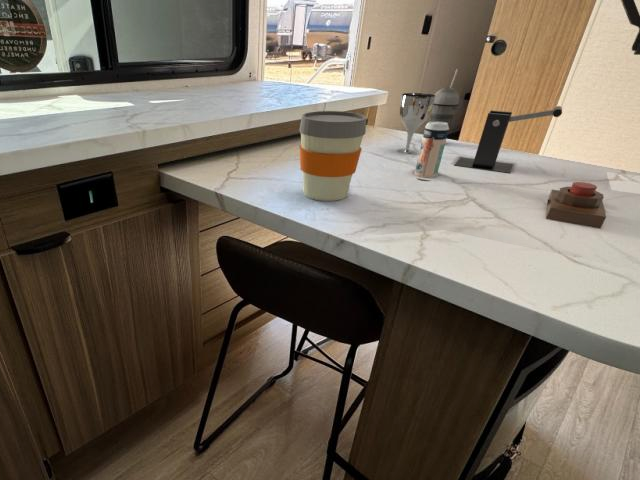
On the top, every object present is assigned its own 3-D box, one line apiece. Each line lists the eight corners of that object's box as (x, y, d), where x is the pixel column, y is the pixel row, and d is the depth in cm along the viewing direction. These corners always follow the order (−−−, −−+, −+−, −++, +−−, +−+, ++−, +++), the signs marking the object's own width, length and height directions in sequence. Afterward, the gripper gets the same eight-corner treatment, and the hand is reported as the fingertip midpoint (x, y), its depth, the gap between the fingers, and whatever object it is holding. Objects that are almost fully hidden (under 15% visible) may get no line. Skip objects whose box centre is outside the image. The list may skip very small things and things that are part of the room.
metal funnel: (423, 161, 108) (439, 97, 99) (392, 159, 109) (404, 96, 101) (418, 153, 114) (432, 93, 106) (388, 152, 115) (399, 92, 107)
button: (568, 189, 77) (572, 180, 76) (592, 193, 76) (596, 184, 75) (568, 195, 75) (573, 185, 74) (593, 199, 73) (597, 189, 72)
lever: (561, 115, 91) (562, 103, 90) (561, 118, 87) (562, 106, 86) (491, 126, 98) (492, 115, 97) (489, 129, 95) (489, 118, 94)
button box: (547, 200, 83) (555, 180, 81) (596, 207, 79) (606, 187, 77) (545, 219, 75) (554, 197, 73) (600, 228, 71) (611, 206, 69)
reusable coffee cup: (342, 182, 92) (352, 109, 84) (365, 202, 82) (379, 121, 74) (287, 185, 91) (292, 111, 82) (305, 206, 80) (312, 123, 72)
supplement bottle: (412, 175, 97) (424, 120, 91) (433, 176, 96) (447, 121, 90) (415, 181, 93) (428, 124, 87) (437, 182, 92) (452, 125, 86)
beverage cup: (427, 143, 125) (445, 67, 114) (451, 147, 120) (472, 69, 109) (415, 147, 120) (433, 68, 109) (439, 151, 116) (460, 70, 105)
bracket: (511, 168, 102) (531, 112, 95) (508, 177, 96) (529, 118, 88) (459, 161, 107) (474, 107, 100) (452, 169, 101) (468, 113, 94)
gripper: (646, -75, 64) (594, 54, 74) (767, -86, 58) (693, 56, 68) (640, -67, 70) (592, 52, 79) (750, -77, 64) (684, 54, 73)
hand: (639, 54), depth 73 cm, fingers closed
